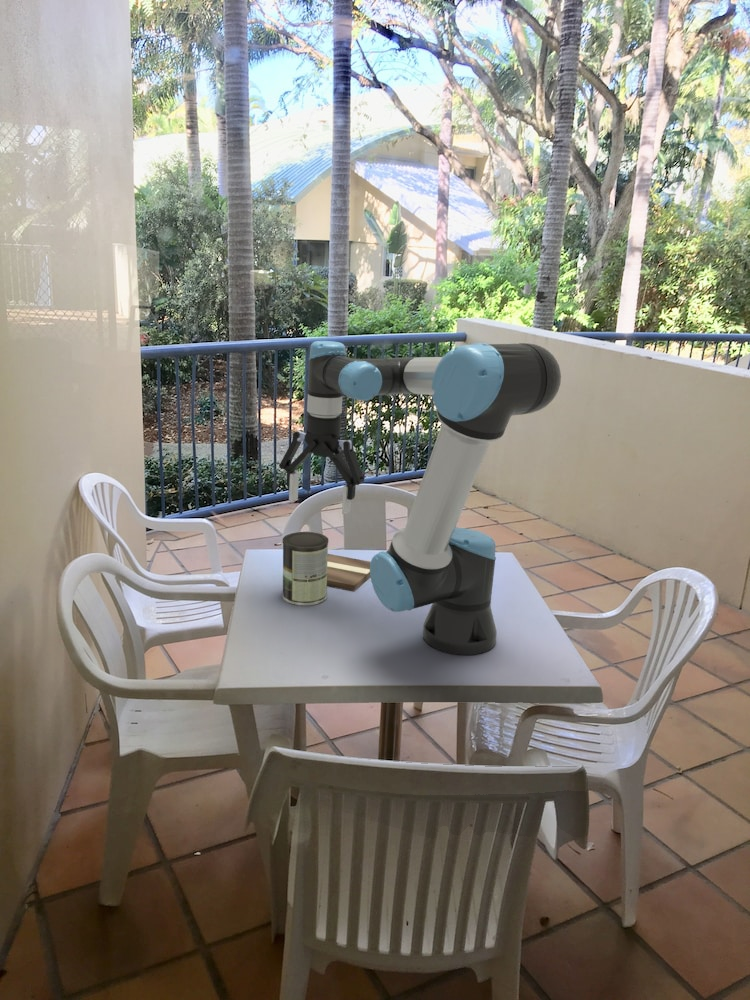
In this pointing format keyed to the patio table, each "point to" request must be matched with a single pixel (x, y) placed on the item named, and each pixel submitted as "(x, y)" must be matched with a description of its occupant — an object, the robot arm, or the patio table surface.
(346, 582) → the board
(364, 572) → the strip
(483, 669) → the patio table surface
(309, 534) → the coffee can
